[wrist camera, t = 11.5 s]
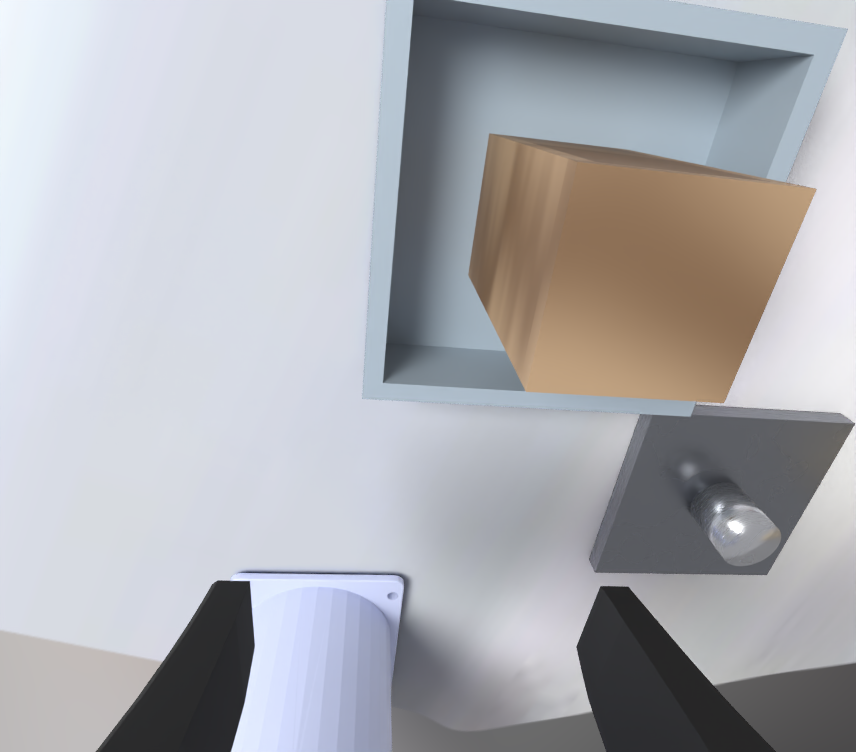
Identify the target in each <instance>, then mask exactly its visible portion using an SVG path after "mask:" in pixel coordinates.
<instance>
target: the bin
mask: <svg viewBox="0 0 856 752" xmlns="http://www.w3.org/2000/svg"><path fill="white" fill-rule="evenodd" d="M847 30H848V29H845V28H839V27H833V26H826V25H820V24H814V23H808V22H801V21H795V20H789V19H782V18H776V17H770V16H764V15H757V14H751V13H745V12H738V11H732V10H726V9H720V8H713V7H707V6H701V5H694V4H688V3H682V2H676V1H669V0H386V12H385V29H384V45H383V62H382V78H381V95H380V111H379V128H378V145H377V161H376V178H375V194H374V211H373V228H372V244H371V261H370V277H369V294H368V310H367V327H366V344H365V360H364V377H363V393H362V399H374V400H392V401H411V402H429V403H448V404H466V405H484V406H503V407H521V408H539V409H558V410H576V411H595V412H613V413H631V414H650V415H668V416H686V417H691V414H692V412H693V409H694V407H695V404H696V402H697V401H679V400H661V399H643V398H626V397H608V396H590V395H572V394H555V393H537V392H526V391H525V389H524V387H523V385H522V383H521V381H520V379H519V377H518V375H517V373H516V371H515V369H514V367H513V365H512V363H511V361H510V359H509V357H508V355H507V353H506V351H505V349H504V346H503V344H502V342H501V340H500V338H499V336H498V334H497V332H496V330H495V328H494V326H493V324H492V322H491V320H490V318H489V316H488V314H487V312H486V310H485V308H484V306H483V304H482V302H481V300H480V298H479V296H478V294H477V292H476V290H475V288H474V286H473V284H472V282H471V280H470V278H469V276H468V273H469V266H470V259H471V253H472V246H473V239H474V232H475V226H476V219H477V212H478V205H479V199H480V192H481V185H482V178H483V172H484V165H485V158H486V151H487V145H488V138H489V133H491V134H500V135H508V136H517V137H525V138H534V139H542V140H551V141H559V142H568V143H576V144H585V145H593V146H602V147H610V148H619V149H627V150H632V151H637V152H642V153H647V154H651V155H656V156H661V157H666V158H671V159H675V160H680V161H685V162H690V163H695V164H699V165H704V166H709V167H714V168H719V169H723V170H728V171H733V172H738V173H743V174H747V175H752V176H757V177H762V178H767V179H771V180H776V181H781V182H786V180H787V178H788V175H789V173H790V171H791V168H792V166H793V163H794V161H795V158H796V156H797V153H798V151H799V148H800V146H801V144H802V141H803V139H804V136H805V134H806V131H807V129H808V126H809V124H810V121H811V119H812V116H813V114H814V112H815V109H816V107H817V104H818V102H819V99H820V97H821V94H822V92H823V89H824V87H825V85H826V82H827V80H828V77H829V75H830V72H831V70H832V67H833V65H834V62H835V60H836V57H837V55H838V53H839V50H840V48H841V45H842V43H843V40H844V38H845V35H846V33H847Z"/></svg>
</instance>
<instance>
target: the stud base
mask: <svg viewBox="0 0 856 752" xmlns="http://www.w3.org/2000/svg"><path fill="white" fill-rule="evenodd" d="M854 425H855V423H853V422H852V421H851V420H849V419H848V418H846V417H845V416H843V415H842V414H840V413H823V412H806V411H789V410H771V409H754V408H736V407H719V406H702V405H695V407H694V409H693V412H692V414H691V417H686V416H668V415H650V414H640V417H639V419H638V422H637V425H636V428H635V431H634V434H633V436H632V439H631V442H630V445H629V448H628V451H627V453H626V456H625V459H624V462H623V465H622V468H621V470H620V473H619V476H618V479H617V482H616V485H615V487H614V490H613V493H612V496H611V499H610V502H609V504H608V507H607V510H606V513H605V516H604V518H603V521H602V524H601V527H600V530H599V533H598V535H597V538H596V541H595V544H594V547H593V550H592V552H591V555H590V558H589V560H590V563H591V565H592V567H593V569H594V571H595V572H596V573H664V574H733V575H767V574H768V572H769V570H770V569H771V567H772V565H773V563H774V562H775V560H776V558H777V557H778V555H779V553H780V551H781V550H782V548H783V546H784V545H785V543H786V541H787V539H788V538H789V536H790V534H791V533H792V531H793V529H794V527H795V526H796V524H797V522H798V521H799V519H800V517H801V515H802V514H803V512H804V510H805V509H806V507H807V505H808V503H809V502H810V500H811V498H812V497H813V495H814V493H815V492H816V490H817V488H818V486H819V485H820V483H821V481H822V480H823V478H824V476H825V474H826V473H827V471H828V469H829V468H830V466H831V464H832V462H833V461H834V459H835V457H836V456H837V454H838V452H839V450H840V449H841V447H842V445H843V444H844V442H845V440H846V438H847V437H848V435H849V433H850V432H851V430H852V428H853V426H854Z"/></svg>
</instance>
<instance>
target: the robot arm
mask: <svg viewBox="0 0 856 752" xmlns="http://www.w3.org/2000/svg"><path fill="white" fill-rule="evenodd" d="M391 592H394V593H391ZM403 593H404V581H403V579H402V578H401V577H399V576H396V575H342V574H267V573H239V574H235V575H233V576H232V577H231V580H230V581H216V582H215V583H214V584H212V586H211V587H210V589H209V591H208V593H207V594H206V596H205V598H204V600H203V601H202V603H201V604H200V606H199V608H198V609H197V611H196V613H195V614H194V616H193V617H192V619H191V621H190V622H189V624H188V625H187V627H186V628H185V630H184V631H183V633H182V634H181V636H180V637H179V639H178V640H177V642H176V643H175V645H174V646H173V648H172V650H171V651H170V652H169V654H168V655H167V657H166V658H165V660H164V661H163V662H162V664H161V665H160V667H159V668H158V669H157V671H156V672H155V674H154V675H153V677H152V678H151V680H150V681H149V682H148V684H147V685H146V686H145V688H144V689H143V691H142V692H141V694H140V695H139V696H138V698H137V699H136V700H135V702H134V703H133V704H132V706H131V707H130V708H129V710H128V711H127V712H126V713H125V715H124V716H123V717H122V719H121V720H120V721H119V723H118V724H117V725H116V726H115V728H114V729H113V730H112V732H111V733H110V734H109V736H108V737H107V738H106V739H105V741H104V742H103V743H102V745H101V746H100V747H99V748H98V750H97V751H96V752H392V722H391V721H392V720H391V717H392V716H391V686H392V678H393V670H394V662H395V655H396V647H397V639H398V631H399V624H400V616H401V608H402V600H403ZM577 651H578V656H579V660H580V665H581V670H582V674H583V678H584V682H585V687H586V691H587V695H588V699H589V702H590V705H591V708H592V711H593V714H594V717H595V719H596V722H597V725H598V729H599V731H600V734H601V737H602V740H603V743H604V746H605V749H606V752H776V751H775V750H774V749H773V748H772V747H771V746H770V745H769V744H768V743H767V742H766V741H765V740H764V739H763V738H762V737H761V736H760V735H759V734H758V733H757V732H756V731H755V730H754V729H753V728H752V727H751V726H750V725H749V724H748V722H747V721H745V719H744V718H743V717H742V716H741V715H740V714H739V713H738V712H737V711H736V710H735V709H734V708H733V707H732V706H731V704H729V702H728V701H727V700H726V699H725V698H724V697H723V696H722V695H721V694H720V692H718V690H717V689H716V688H715V687H714V686H713V685H712V684H711V682H710V681H709V680H708V679H707V678H706V677H705V676H704V675H703V673H702V672H701V671H700V670H699V669H698V668H697V667H696V666H695V664H694V663H693V662H692V661H691V660H690V659H689V658H688V656H687V655H686V654H685V653H684V652H683V651H682V649H681V648H680V647H679V646H678V645H677V644H676V642H675V641H674V640H673V639H672V638H671V637H670V635H669V634H668V633H667V632H666V631H665V630H664V628H663V627H662V626H661V625H660V624H659V623H658V621H657V620H656V619H655V618H654V617H653V615H652V614H651V613H650V612H649V611H648V610H647V608H646V607H645V606H644V605H643V604H642V602H641V601H640V600H639V599H638V598H637V597H636V595H635V594H634V593H633V592H632V591H631V590H630V588H629V587H616V586H601V587H600V589H599V592H598V594H597V597H596V599H595V602H594V604H593V607H592V609H591V612H590V614H589V617H588V619H587V622H586V624H585V627H584V629H583V632H582V634H581V637H580V639H579V642H578V644H577Z"/></svg>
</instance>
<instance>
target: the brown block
mask: <svg viewBox="0 0 856 752" xmlns="http://www.w3.org/2000/svg"><path fill="white" fill-rule="evenodd" d="M815 192H816V189H815V188H810V187H805V186H800V185H795V184H791V183H786V182H781V181H776V180H771V179H767V178H762V177H757V176H752V175H747V174H743V173H738V172H733V171H728V170H723V169H719V168H714V167H709V166H704V165H699V164H695V163H690V162H685V161H680V160H675V159H671V158H666V157H661V156H656V155H651V154H647V153H642V152H637V151H632V150H627V149H619V148H610V147H602V146H593V145H585V144H576V143H568V142H559V141H551V140H542V139H534V138H525V137H517V136H508V135H500V134H491V133H489V138H488V145H487V151H486V158H485V165H484V172H483V178H482V185H481V192H480V199H479V205H478V212H477V219H476V226H475V232H474V239H473V246H472V253H471V259H470V266H469V273H468V276H469V278H470V280H471V282H472V284H473V286H474V288H475V290H476V292H477V294H478V296H479V298H480V300H481V302H482V304H483V306H484V308H485V310H486V312H487V314H488V316H489V318H490V320H491V322H492V324H493V326H494V328H495V330H496V332H497V334H498V336H499V338H500V340H501V342H502V344H503V346H504V349H505V351H506V353H507V355H508V357H509V359H510V361H511V363H512V365H513V367H514V369H515V371H516V373H517V375H518V377H519V379H520V381H521V383H522V385H523V387H524V389H525V391H526V392H537V393H555V394H572V395H590V396H608V397H626V398H643V399H661V400H679V401H697V402H714V403H724V402H725V399H726V397H727V395H728V392H729V390H730V388H731V386H732V383H733V381H734V379H735V376H736V374H737V372H738V369H739V367H740V365H741V362H742V360H743V358H744V356H745V353H746V351H747V349H748V346H749V344H750V342H751V339H752V337H753V335H754V332H755V330H756V328H757V326H758V323H759V321H760V319H761V316H762V314H763V312H764V309H765V307H766V305H767V302H768V300H769V298H770V296H771V293H772V291H773V289H774V286H775V284H776V282H777V279H778V277H779V275H780V272H781V270H782V268H783V266H784V263H785V261H786V259H787V256H788V254H789V252H790V249H791V247H792V245H793V242H794V240H795V238H796V235H797V233H798V231H799V229H800V226H801V224H802V222H803V219H804V217H805V215H806V212H807V210H808V208H809V205H810V203H811V201H812V199H813V196H814V194H815Z"/></svg>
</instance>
